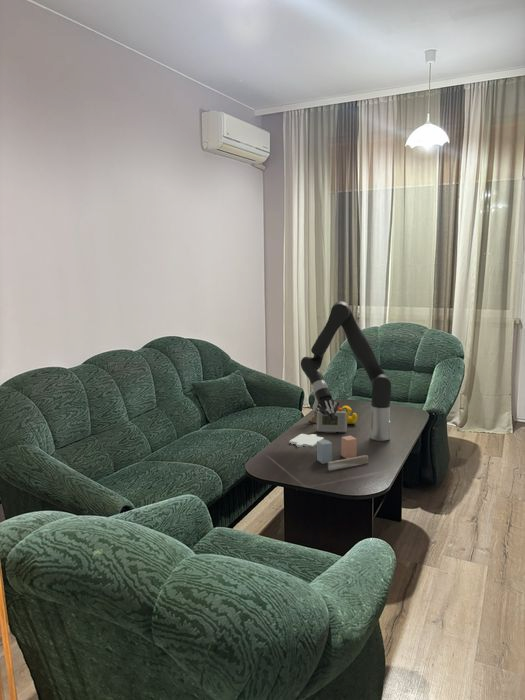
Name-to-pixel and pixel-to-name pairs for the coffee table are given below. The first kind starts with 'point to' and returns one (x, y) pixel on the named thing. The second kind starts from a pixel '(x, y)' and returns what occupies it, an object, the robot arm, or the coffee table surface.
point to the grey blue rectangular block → (324, 451)
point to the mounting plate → (306, 440)
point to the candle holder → (314, 418)
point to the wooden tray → (347, 462)
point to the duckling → (349, 418)
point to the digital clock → (328, 426)
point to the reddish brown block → (348, 447)
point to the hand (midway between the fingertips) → (333, 421)
